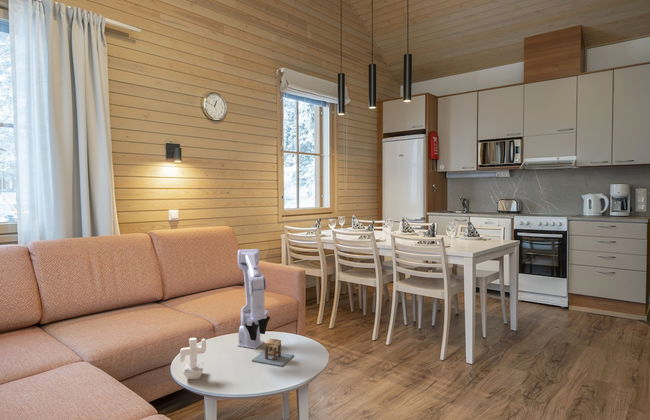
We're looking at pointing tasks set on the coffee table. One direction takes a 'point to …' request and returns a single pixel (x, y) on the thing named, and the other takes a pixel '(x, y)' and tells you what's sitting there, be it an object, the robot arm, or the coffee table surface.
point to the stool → (273, 348)
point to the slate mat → (279, 362)
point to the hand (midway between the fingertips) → (258, 336)
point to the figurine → (193, 359)
